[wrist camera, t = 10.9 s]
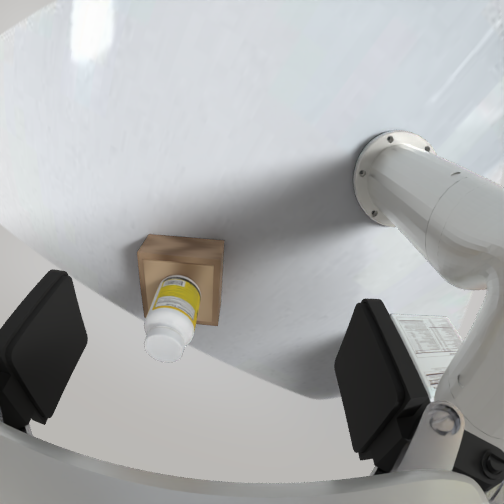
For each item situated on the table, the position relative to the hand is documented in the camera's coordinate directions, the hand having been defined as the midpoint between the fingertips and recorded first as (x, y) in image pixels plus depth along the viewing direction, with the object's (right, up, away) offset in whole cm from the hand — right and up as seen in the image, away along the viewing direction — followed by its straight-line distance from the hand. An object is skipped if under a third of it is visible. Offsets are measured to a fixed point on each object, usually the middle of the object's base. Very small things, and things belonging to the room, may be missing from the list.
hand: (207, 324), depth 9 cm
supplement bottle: (-7, -2, +28) cm, 29 cm away
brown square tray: (-8, 0, +32) cm, 33 cm away
